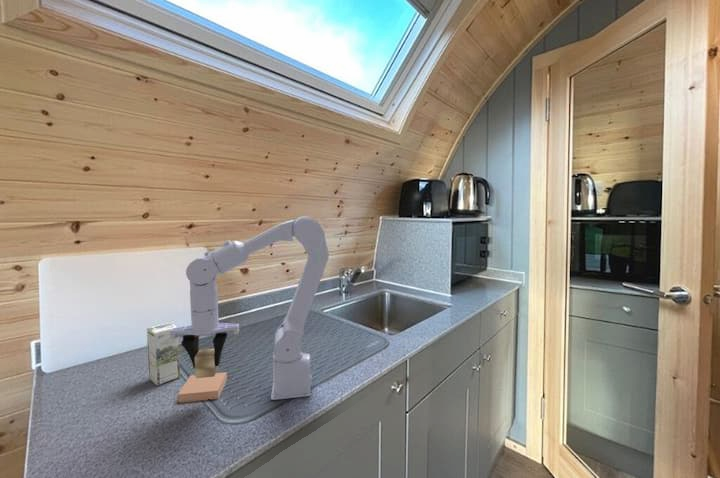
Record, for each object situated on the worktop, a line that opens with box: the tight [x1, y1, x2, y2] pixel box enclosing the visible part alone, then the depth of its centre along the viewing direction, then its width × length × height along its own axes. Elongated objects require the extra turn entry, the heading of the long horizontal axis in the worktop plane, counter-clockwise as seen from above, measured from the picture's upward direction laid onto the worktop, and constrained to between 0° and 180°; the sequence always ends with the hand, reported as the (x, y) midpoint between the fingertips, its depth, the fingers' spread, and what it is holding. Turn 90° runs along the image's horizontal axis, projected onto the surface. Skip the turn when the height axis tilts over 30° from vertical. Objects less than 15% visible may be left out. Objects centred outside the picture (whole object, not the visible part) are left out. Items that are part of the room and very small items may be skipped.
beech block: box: [194, 348, 219, 378], centre depth 76 cm, size 4×4×5 cm
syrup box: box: [146, 322, 181, 387], centre depth 87 cm, size 6×6×14 cm
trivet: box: [177, 371, 228, 404], centre depth 82 cm, size 9×9×2 cm
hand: (207, 365), depth 76 cm, fingers closed on beech block, 4 cm apart
